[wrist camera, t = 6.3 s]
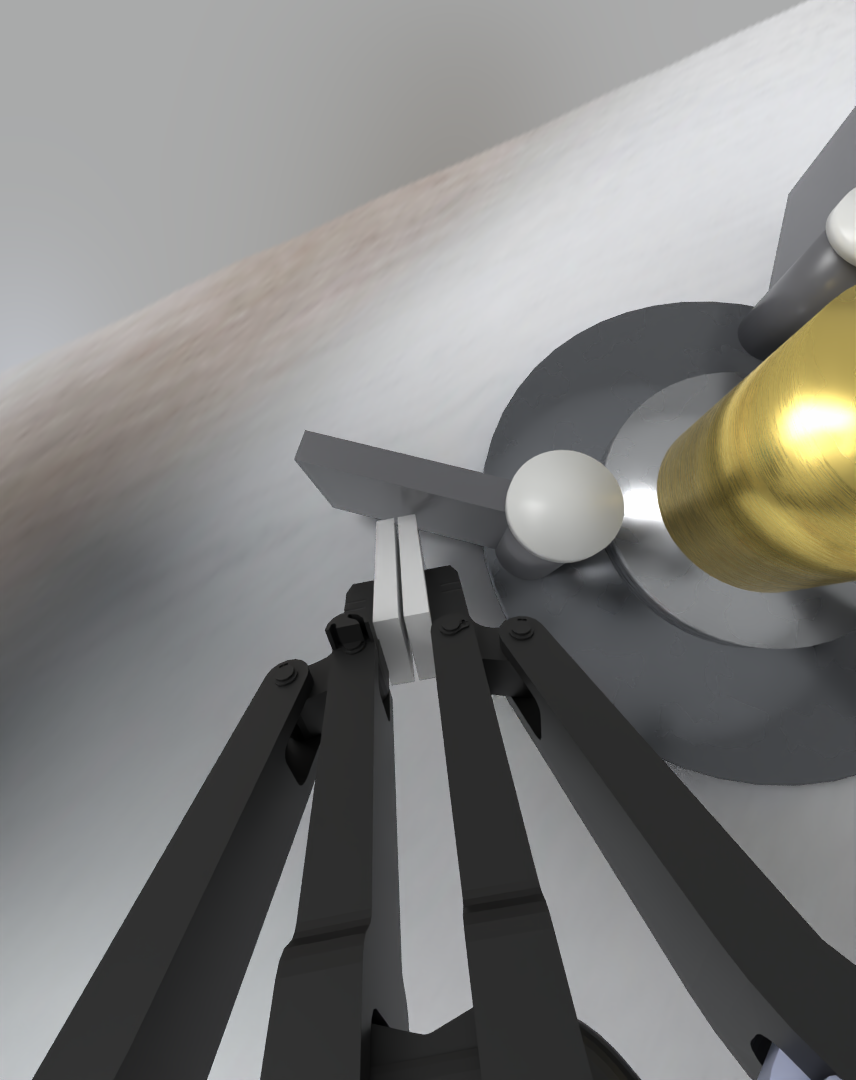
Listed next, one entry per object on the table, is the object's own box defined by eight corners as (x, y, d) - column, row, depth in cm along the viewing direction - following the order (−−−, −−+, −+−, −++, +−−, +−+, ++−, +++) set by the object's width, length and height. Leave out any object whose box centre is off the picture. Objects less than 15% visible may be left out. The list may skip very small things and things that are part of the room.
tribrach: (385, 494, 22) (319, 327, 11) (694, 245, 25) (909, -97, 14) (751, 910, 17) (1388, 1460, 6) (1081, 538, 20) (1937, 396, 9)
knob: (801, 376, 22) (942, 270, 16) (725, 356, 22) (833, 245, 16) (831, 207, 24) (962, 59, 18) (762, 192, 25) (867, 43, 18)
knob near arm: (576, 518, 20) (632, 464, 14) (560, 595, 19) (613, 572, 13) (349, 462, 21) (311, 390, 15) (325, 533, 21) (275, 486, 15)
